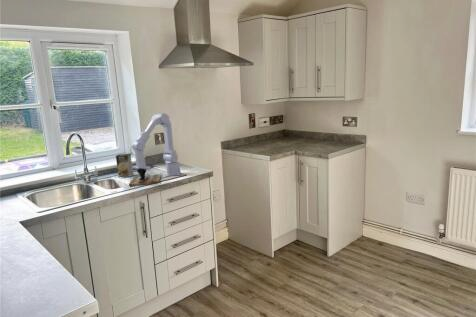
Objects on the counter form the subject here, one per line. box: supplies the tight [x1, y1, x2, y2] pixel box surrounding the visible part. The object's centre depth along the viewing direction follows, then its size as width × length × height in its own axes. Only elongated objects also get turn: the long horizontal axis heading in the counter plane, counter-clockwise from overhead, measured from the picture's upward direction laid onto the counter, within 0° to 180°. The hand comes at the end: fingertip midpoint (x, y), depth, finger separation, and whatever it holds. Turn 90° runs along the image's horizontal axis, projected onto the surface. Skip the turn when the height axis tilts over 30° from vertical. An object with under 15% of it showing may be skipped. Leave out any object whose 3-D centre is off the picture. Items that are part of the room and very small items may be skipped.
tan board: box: [128, 173, 162, 187], centre depth 240 cm, size 19×22×1 cm
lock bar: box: [137, 173, 149, 182], centre depth 235 cm, size 10×3×2 cm, turn 161°
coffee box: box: [115, 153, 134, 178], centre depth 257 cm, size 9×6×16 cm
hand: (143, 179), depth 233 cm, fingers closed, pressing on lock bar
